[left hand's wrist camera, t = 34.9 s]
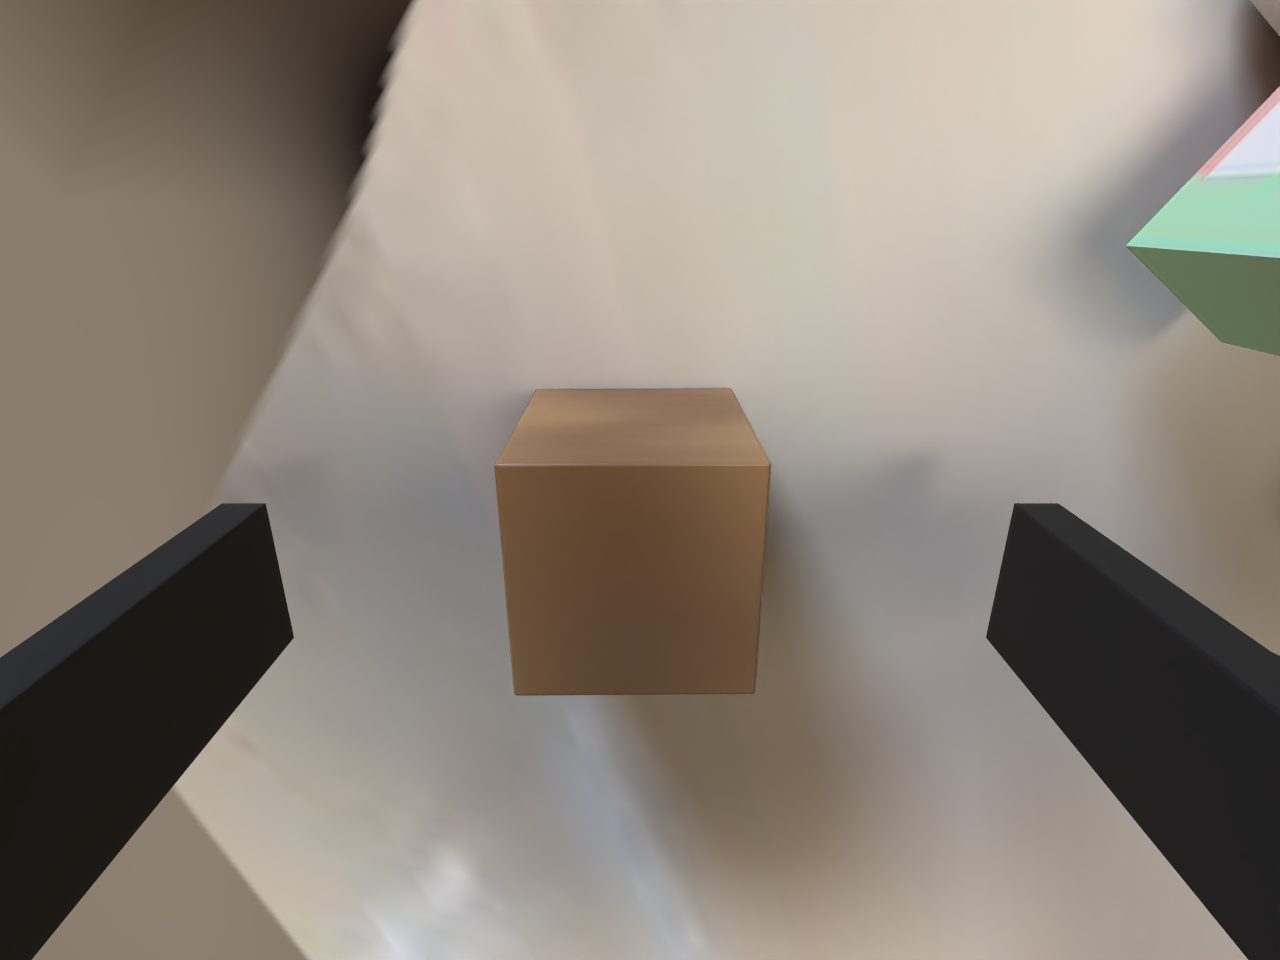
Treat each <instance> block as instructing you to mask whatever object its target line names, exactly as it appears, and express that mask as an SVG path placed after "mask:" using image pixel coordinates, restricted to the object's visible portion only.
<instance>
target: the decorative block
mask: <svg viewBox="0 0 1280 960" xmlns="http://www.w3.org/2000/svg"><path fill="white" fill-rule="evenodd" d="M1250 1H1251V2H1252V4H1253V5H1254V6H1255V7H1256V8H1257V10H1258V11H1259V12H1260V13H1261V14H1262V16H1263V17H1264V18H1265V19H1266V20H1267V22H1268V23H1269V24H1270V25H1271V26H1272V28H1273V29H1274V30H1275V31H1276V33H1277V34H1278V35H1279V36H1280V0H1250ZM1126 246H1127V247H1128V248H1129V249H1130V250H1131V252H1132V253H1133V254H1134V255H1135V256H1136V257H1137V258H1138V259H1139V260H1140V261H1141V262H1142V263H1143V264H1144V265H1145V266H1146V267H1147V268H1148V269H1149V270H1150V271H1151V272H1152V273H1153V274H1154V275H1155V276H1156V277H1157V278H1158V279H1159V280H1160V281H1161V282H1162V283H1163V284H1164V285H1165V286H1166V287H1167V288H1168V289H1169V290H1170V291H1171V292H1172V293H1173V294H1174V295H1175V296H1176V297H1177V298H1178V299H1179V300H1180V301H1181V302H1182V303H1183V304H1184V305H1185V306H1186V307H1187V308H1188V309H1189V310H1190V311H1191V312H1192V313H1193V314H1194V315H1195V316H1196V317H1197V318H1198V319H1199V320H1200V321H1201V322H1202V323H1203V324H1204V325H1205V326H1206V327H1207V328H1208V329H1209V330H1210V331H1211V332H1212V333H1213V334H1214V335H1215V336H1216V337H1217V338H1218V339H1219V340H1220V341H1221V342H1223V343H1228V344H1232V345H1236V346H1241V347H1245V348H1249V349H1254V350H1258V351H1262V352H1267V353H1271V354H1275V355H1280V86H1279V87H1278V88H1277V89H1276V91H1275V92H1274V93H1273V94H1272V95H1271V96H1270V97H1269V98H1268V99H1267V100H1266V101H1265V102H1264V103H1263V104H1262V105H1261V106H1260V107H1259V108H1258V109H1257V110H1256V111H1255V112H1254V113H1253V114H1252V115H1251V116H1250V117H1249V118H1248V120H1247V121H1246V122H1245V123H1244V124H1243V125H1242V126H1241V127H1240V128H1239V129H1238V130H1237V131H1236V132H1235V133H1234V134H1233V135H1232V136H1231V137H1230V138H1229V139H1228V140H1227V141H1226V142H1225V143H1224V144H1223V145H1222V146H1221V147H1220V149H1219V150H1218V151H1217V152H1216V153H1215V154H1214V155H1213V156H1212V157H1211V158H1210V159H1209V160H1208V161H1207V162H1206V163H1205V164H1204V165H1203V166H1202V167H1201V168H1200V169H1199V170H1198V171H1197V172H1196V173H1195V174H1194V175H1193V177H1192V178H1191V179H1190V180H1189V181H1188V182H1187V183H1186V184H1185V185H1184V186H1183V187H1182V188H1181V189H1180V190H1179V191H1178V192H1177V193H1176V194H1175V195H1174V196H1173V197H1172V198H1171V199H1170V200H1169V201H1168V202H1167V203H1166V204H1165V206H1164V207H1163V208H1162V209H1161V210H1160V211H1159V212H1158V213H1157V214H1156V215H1155V216H1154V217H1153V218H1152V219H1151V220H1150V221H1149V222H1148V223H1147V224H1146V225H1145V226H1144V227H1143V228H1142V229H1141V230H1140V231H1139V232H1138V234H1137V235H1136V236H1135V237H1134V238H1133V239H1132V240H1131V241H1130V242H1129V243H1128V244H1127V245H1126Z"/></svg>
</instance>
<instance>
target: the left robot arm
mask: <svg viewBox="0 0 1280 960" xmlns="http://www.w3.org/2000/svg"><path fill="white" fill-rule="evenodd" d="M293 638H294V636H293V631H292V626H291V622H290V617H289V612H288V607H287V603H286V598H285V593H284V588H283V584H282V579H281V574H280V570H279V565H278V560H277V555H276V551H275V546H274V541H273V536H272V532H271V527H270V522H269V517H268V513H267V508H266V504H221V505H219V506H218V507H216V508H215V509H213V510H212V511H211V512H209V513H208V514H206V515H205V516H203V517H202V518H200V519H199V520H198V521H196V522H195V523H193V524H192V525H190V526H189V527H188V528H186V529H185V530H183V531H182V532H180V533H179V534H177V535H176V536H175V537H173V538H172V539H170V540H169V541H167V542H166V543H165V544H163V545H162V546H160V547H159V548H157V549H156V550H155V551H153V552H152V553H150V554H149V555H147V556H146V557H144V558H143V559H142V560H140V561H139V562H137V563H136V564H134V565H133V566H132V567H130V568H129V569H127V570H126V571H124V572H123V573H121V574H120V575H119V576H117V577H116V578H114V579H113V580H111V581H110V582H109V583H107V584H106V585H104V586H103V587H101V588H100V589H98V590H97V591H96V592H94V593H93V594H91V595H90V596H88V597H87V598H86V599H84V600H83V601H81V602H80V603H78V604H77V605H76V606H74V607H73V608H71V609H70V610H68V611H67V612H65V613H64V614H63V615H61V616H60V617H58V618H57V619H55V620H54V621H53V622H51V623H50V624H48V625H47V626H45V627H44V628H42V629H41V630H40V631H38V632H37V633H35V634H34V635H32V636H31V637H30V638H28V639H27V640H25V641H24V642H22V643H21V644H20V645H18V646H17V647H15V648H14V649H12V650H11V651H9V652H8V653H7V654H5V655H4V656H2V657H1V658H0V960H32V958H33V957H34V956H35V955H36V953H37V952H38V951H39V950H40V949H41V947H42V946H43V945H44V944H45V942H46V941H47V940H48V939H49V938H50V936H51V935H52V934H53V933H54V931H55V930H56V929H57V928H58V927H59V925H60V924H61V923H62V922H63V920H64V919H65V918H66V917H67V915H68V914H69V913H70V912H71V910H72V909H73V908H74V907H75V906H76V904H77V903H78V902H79V901H80V900H81V898H82V897H83V896H84V895H85V893H86V892H87V891H88V890H89V888H90V887H91V886H92V885H93V884H94V882H95V881H96V880H97V879H98V877H99V876H100V875H101V874H102V872H103V871H104V870H105V869H106V867H107V866H108V865H109V864H110V863H111V861H112V860H113V859H114V858H115V857H116V855H117V854H118V853H119V852H120V850H121V849H122V848H123V847H124V845H125V844H126V843H127V842H128V841H129V839H130V838H131V837H132V836H133V834H134V833H135V832H136V831H137V829H138V828H139V827H140V826H141V825H142V823H143V822H144V821H145V820H146V818H147V817H148V816H149V815H150V814H151V812H152V811H153V810H154V809H155V807H156V806H157V805H158V804H159V802H160V801H161V800H162V799H163V798H164V796H165V795H166V794H167V793H168V791H169V790H170V789H171V788H172V787H173V785H174V784H175V783H176V782H177V780H178V779H179V778H180V777H181V775H182V774H183V773H184V772H185V771H186V769H187V768H188V767H189V766H190V764H191V763H192V762H193V761H194V760H195V758H196V757H197V756H198V755H199V753H200V752H201V751H202V750H203V748H204V747H205V746H206V745H207V744H208V742H209V741H210V740H211V739H212V737H213V736H214V735H215V734H216V733H217V731H218V730H219V729H220V728H221V726H222V725H223V724H224V723H225V721H226V720H227V719H228V718H229V717H230V715H231V714H232V713H233V712H234V710H235V709H236V708H237V707H238V706H239V704H240V703H241V702H242V701H243V699H244V698H245V697H246V696H247V694H248V693H249V692H250V691H251V690H252V688H253V687H254V686H255V685H256V683H257V682H258V681H259V680H260V678H261V677H262V676H263V675H264V674H265V672H266V671H267V670H268V669H269V667H270V666H271V665H272V664H273V663H274V661H275V660H276V659H277V658H278V656H279V655H280V654H281V653H282V651H283V650H284V649H285V648H286V647H287V645H288V644H289V643H290V642H291V640H292V639H293ZM986 638H987V639H988V640H989V642H990V643H991V644H992V645H993V647H994V648H995V649H996V650H997V651H998V653H999V654H1000V655H1001V656H1002V658H1003V659H1004V660H1005V661H1006V663H1007V664H1008V665H1009V666H1010V667H1011V669H1012V670H1013V671H1014V672H1015V674H1016V675H1017V676H1018V677H1019V678H1020V680H1021V681H1022V682H1023V683H1024V685H1025V686H1026V687H1027V688H1028V690H1029V691H1030V692H1031V693H1032V694H1033V696H1034V697H1035V698H1036V699H1037V701H1038V702H1039V703H1040V704H1041V706H1042V707H1043V708H1044V709H1045V710H1046V712H1047V713H1048V714H1049V715H1050V717H1051V718H1052V719H1053V720H1054V721H1055V723H1056V724H1057V725H1058V726H1059V728H1060V729H1061V730H1062V731H1063V733H1064V734H1065V735H1066V736H1067V737H1068V739H1069V740H1070V741H1071V742H1072V744H1073V745H1074V746H1075V747H1076V748H1077V750H1078V751H1079V752H1080V753H1081V755H1082V756H1083V757H1084V758H1085V760H1086V761H1087V762H1088V763H1089V764H1090V766H1091V767H1092V768H1093V769H1094V771H1095V772H1096V773H1097V774H1098V775H1099V777H1100V778H1101V779H1102V780H1103V782H1104V783H1105V784H1106V785H1107V787H1108V788H1109V789H1110V790H1111V791H1112V793H1113V794H1114V795H1115V796H1116V798H1117V799H1118V800H1119V801H1120V803H1121V804H1122V805H1123V806H1124V807H1125V809H1126V810H1127V811H1128V812H1129V814H1130V815H1131V816H1132V817H1133V818H1134V820H1135V821H1136V822H1137V823H1138V825H1139V826H1140V827H1141V828H1142V830H1143V831H1144V832H1145V833H1146V834H1147V836H1148V837H1149V838H1150V839H1151V841H1152V842H1153V843H1154V844H1155V845H1156V847H1157V848H1158V849H1159V850H1160V852H1161V853H1162V854H1163V855H1164V857H1165V858H1166V859H1167V860H1168V861H1169V863H1170V864H1171V865H1172V866H1173V868H1174V869H1175V870H1176V871H1177V872H1178V874H1179V875H1180V876H1181V877H1182V879H1183V880H1184V881H1185V882H1186V884H1187V885H1188V886H1189V887H1190V888H1191V890H1192V891H1193V892H1194V893H1195V895H1196V896H1197V897H1198V898H1199V900H1200V901H1201V902H1202V903H1203V904H1204V906H1205V907H1206V908H1207V909H1208V911H1209V912H1210V913H1211V914H1212V915H1213V917H1214V918H1215V919H1216V920H1217V922H1218V923H1219V924H1220V925H1221V927H1222V928H1223V929H1224V930H1225V931H1226V933H1227V934H1228V935H1229V936H1230V938H1231V939H1232V940H1233V941H1234V942H1235V944H1236V945H1237V946H1238V947H1239V949H1240V950H1241V951H1242V952H1243V954H1244V955H1245V956H1246V957H1247V958H1248V960H1280V656H1279V655H1277V654H1274V653H1272V652H1271V651H1269V650H1268V649H1266V648H1265V647H1263V646H1262V645H1261V644H1259V643H1258V642H1256V641H1255V640H1253V639H1252V638H1250V637H1249V636H1248V635H1246V634H1245V633H1243V632H1242V631H1240V630H1239V629H1238V628H1236V627H1235V626H1233V625H1232V624H1230V623H1229V622H1227V621H1226V620H1225V619H1223V618H1222V617H1220V616H1219V615H1217V614H1216V613H1215V612H1213V611H1212V610H1210V609H1209V608H1207V607H1206V606H1204V605H1203V604H1202V603H1200V602H1199V601H1197V600H1196V599H1194V598H1193V597H1192V596H1190V595H1189V594H1187V593H1186V592H1184V591H1183V590H1182V589H1180V588H1179V587H1177V586H1176V585H1174V584H1173V583H1171V582H1170V581H1169V580H1167V579H1166V578H1164V577H1163V576H1161V575H1160V574H1159V573H1157V572H1156V571H1154V570H1153V569H1151V568H1150V567H1148V566H1147V565H1146V564H1144V563H1143V562H1141V561H1140V560H1138V559H1137V558H1136V557H1134V556H1133V555H1131V554H1130V553H1128V552H1127V551H1125V550H1124V549H1123V548H1121V547H1120V546H1118V545H1117V544H1115V543H1114V542H1113V541H1111V540H1110V539H1108V538H1107V537H1105V536H1104V535H1103V534H1101V533H1100V532H1098V531H1097V530H1095V529H1094V528H1092V527H1091V526H1090V525H1088V524H1087V523H1085V522H1084V521H1082V520H1081V519H1080V518H1078V517H1077V516H1075V515H1074V514H1072V513H1071V512H1069V511H1068V510H1067V509H1065V508H1064V507H1062V506H1061V505H1059V504H1014V508H1013V513H1012V517H1011V522H1010V527H1009V532H1008V536H1007V541H1006V546H1005V551H1004V555H1003V560H1002V565H1001V570H1000V574H999V579H998V584H997V588H996V593H995V598H994V603H993V607H992V612H991V617H990V622H989V626H988V631H987V636H986Z"/></svg>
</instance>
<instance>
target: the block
mask: <svg viewBox="0 0 1280 960" xmlns="http://www.w3.org/2000/svg"><path fill="white" fill-rule="evenodd" d="M770 471H771V464H770V461H769V459H768V457H767V455H766V454H765V452H764V450H763V448H762V446H761V444H760V442H759V440H758V438H757V436H756V435H755V433H754V431H753V429H752V427H751V425H750V423H749V421H748V419H747V417H746V415H745V414H744V412H743V410H742V408H741V406H740V404H739V402H738V400H737V398H736V396H735V394H734V393H733V391H732V389H596V390H536V391H535V393H534V395H533V397H532V399H531V400H530V402H529V404H528V406H527V408H526V409H525V411H524V413H523V415H522V417H521V418H520V420H519V422H518V424H517V426H516V427H515V429H514V431H513V433H512V435H511V437H510V438H509V440H508V442H507V444H506V446H505V447H504V449H503V451H502V453H501V455H500V456H499V458H498V460H497V462H496V464H495V477H496V489H497V500H498V512H499V523H500V535H501V546H502V558H503V569H504V581H505V592H506V604H507V615H508V627H509V639H510V650H511V662H512V673H513V685H514V693H515V695H654V694H753V693H755V690H756V676H757V661H758V646H759V632H760V617H761V602H762V588H763V573H764V558H765V544H766V529H767V515H768V500H769V485H770Z"/></svg>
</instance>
